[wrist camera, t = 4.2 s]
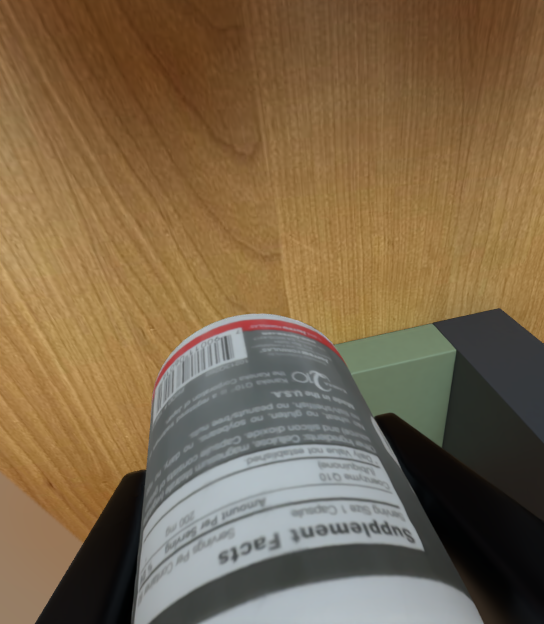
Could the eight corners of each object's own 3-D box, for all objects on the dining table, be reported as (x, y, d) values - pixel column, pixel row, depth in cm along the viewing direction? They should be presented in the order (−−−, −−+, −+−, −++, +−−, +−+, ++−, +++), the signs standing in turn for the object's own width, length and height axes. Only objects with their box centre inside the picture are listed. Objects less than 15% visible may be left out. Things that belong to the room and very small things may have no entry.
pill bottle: (324, 449, 12) (524, 999, 5) (155, 460, 11) (104, 1170, 4) (361, 307, 10) (834, 962, 3) (150, 304, 9) (7, 1353, 2)
